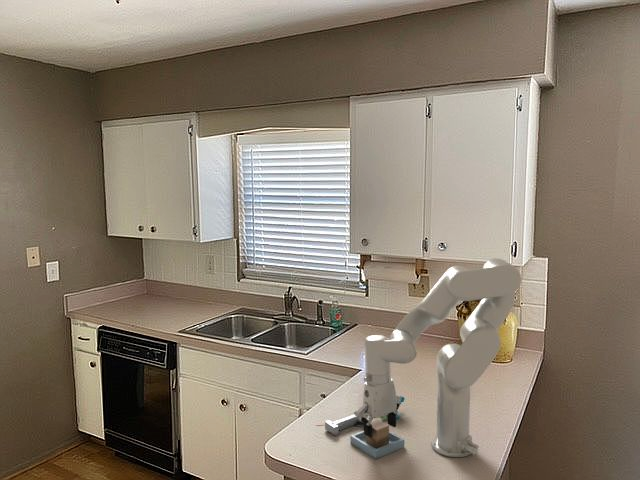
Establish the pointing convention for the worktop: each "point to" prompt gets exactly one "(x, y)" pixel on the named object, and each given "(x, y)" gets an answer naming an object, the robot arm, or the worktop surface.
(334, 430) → the lever
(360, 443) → the tray
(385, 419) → the gear
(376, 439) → the block
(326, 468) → the worktop surface
